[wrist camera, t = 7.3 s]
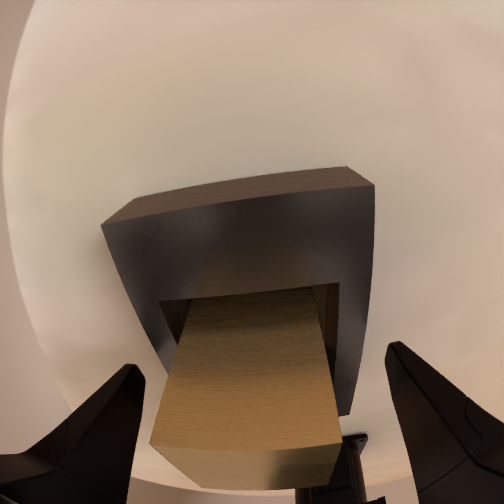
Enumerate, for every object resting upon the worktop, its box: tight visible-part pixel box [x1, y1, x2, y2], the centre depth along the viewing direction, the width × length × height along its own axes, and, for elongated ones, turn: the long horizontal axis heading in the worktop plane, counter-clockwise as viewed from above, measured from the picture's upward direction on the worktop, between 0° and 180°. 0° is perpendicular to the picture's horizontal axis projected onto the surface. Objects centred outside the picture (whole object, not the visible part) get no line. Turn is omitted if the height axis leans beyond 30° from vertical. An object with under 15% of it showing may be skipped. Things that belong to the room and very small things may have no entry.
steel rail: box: [101, 166, 375, 417], centre depth 10 cm, size 11×8×2 cm
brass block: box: [149, 286, 342, 490], centre depth 8 cm, size 4×4×7 cm
